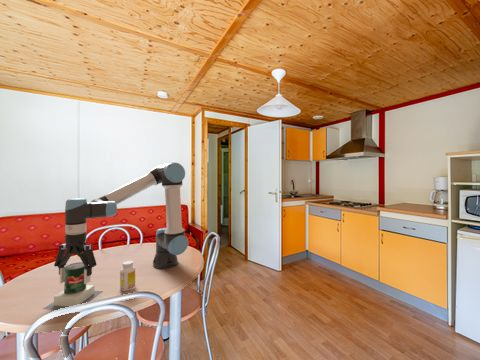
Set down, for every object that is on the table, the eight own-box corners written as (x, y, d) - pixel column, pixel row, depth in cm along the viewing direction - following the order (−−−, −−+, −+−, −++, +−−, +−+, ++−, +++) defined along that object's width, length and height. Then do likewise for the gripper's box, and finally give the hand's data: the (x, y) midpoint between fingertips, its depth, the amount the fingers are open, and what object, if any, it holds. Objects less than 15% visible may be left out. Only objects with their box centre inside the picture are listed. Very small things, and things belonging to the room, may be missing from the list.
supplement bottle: (137, 284, 108) (137, 259, 108) (132, 291, 101) (132, 264, 101) (123, 285, 107) (123, 260, 107) (117, 292, 100) (118, 265, 100)
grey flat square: (103, 292, 100) (103, 291, 100) (76, 311, 85) (76, 310, 85) (73, 290, 101) (73, 289, 101) (42, 309, 86) (42, 308, 86)
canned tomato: (79, 284, 98) (80, 261, 99) (90, 288, 95) (91, 263, 96) (59, 292, 91) (60, 267, 91) (70, 296, 88) (72, 270, 88)
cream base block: (94, 293, 98) (94, 285, 98) (76, 306, 88) (76, 297, 88) (74, 292, 98) (74, 284, 98) (53, 305, 88) (54, 296, 88)
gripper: (43, 234, 90) (42, 285, 90) (94, 235, 89) (93, 287, 89) (59, 230, 98) (58, 277, 98) (106, 231, 96) (105, 279, 96)
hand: (75, 282), depth 93 cm, fingers open, 10 cm apart
